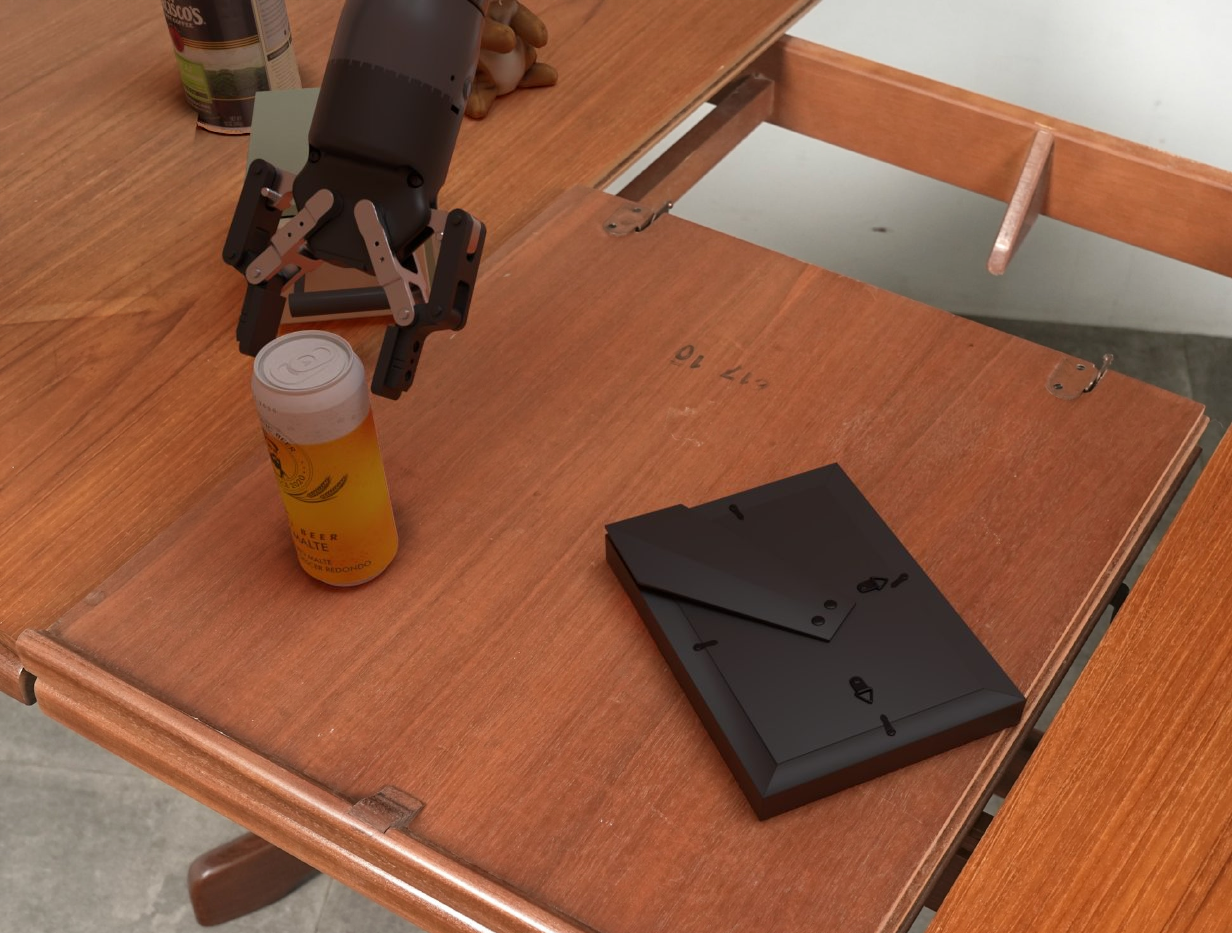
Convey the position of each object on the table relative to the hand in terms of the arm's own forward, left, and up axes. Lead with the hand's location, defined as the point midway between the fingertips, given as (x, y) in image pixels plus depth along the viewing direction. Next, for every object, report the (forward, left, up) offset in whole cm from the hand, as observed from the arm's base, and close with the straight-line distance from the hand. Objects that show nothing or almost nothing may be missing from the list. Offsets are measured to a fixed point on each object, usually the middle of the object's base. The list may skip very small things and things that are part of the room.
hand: (318, 377), depth 75 cm
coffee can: (-10, +57, -13) cm, 60 cm away
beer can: (0, -1, -13) cm, 13 cm away
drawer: (0, +28, -12) cm, 31 cm away
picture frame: (+26, -11, -13) cm, 31 cm away
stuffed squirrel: (+11, +59, -13) cm, 62 cm away
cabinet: (0, +32, -13) cm, 35 cm away
